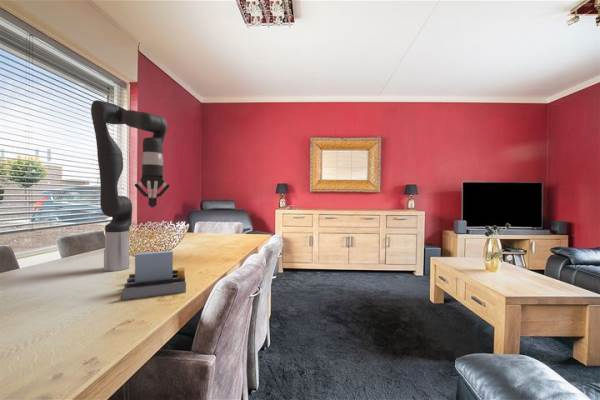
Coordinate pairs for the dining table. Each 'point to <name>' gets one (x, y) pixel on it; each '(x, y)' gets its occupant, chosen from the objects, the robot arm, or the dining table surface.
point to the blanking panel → (153, 266)
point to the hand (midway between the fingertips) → (152, 207)
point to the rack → (154, 286)
